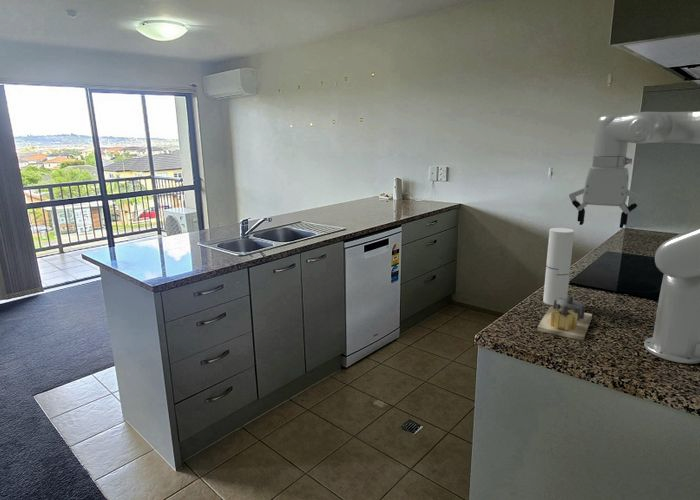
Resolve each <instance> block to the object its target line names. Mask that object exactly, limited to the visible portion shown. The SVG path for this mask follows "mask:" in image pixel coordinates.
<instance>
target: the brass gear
mask: <svg viewBox="0 0 700 500" xmlns="http://www.w3.org/2000/svg"><path fill="white" fill-rule="evenodd" d="M561 310H562V308H560V309H557V310H556V309H553V312H551V322H550V325H551V326H554V327H555V328H556V329H562V330H564V331H568V330H575V329H576V326H577V317H578V314H577V313H574V312H573V311H572V310H568V313H567V315H563V314H561Z"/></svg>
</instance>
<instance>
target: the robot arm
mask: <svg viewBox="0 0 700 500" xmlns="http://www.w3.org/2000/svg"><path fill="white" fill-rule="evenodd" d="M596 122H597V123H596V130H595V139H594V147H593V156H592V157H593V158H592V165H591V167H589V168H588V171H587V175H586V178H585V183H584V187H583V188H582V189H579V190H576V191H574V192H571V193H569V195H568V196H569V199H570V202H571V204H572V206H573V207H575V208H576V210H577V222H579V223H578V224H579V226H583V224H584V223H585V213H586V209H585V208H586V207H587V206H588V205H590V206H605V207H606V206H608V207H619V209H620V210H621V211H622V212H621V214H620V221H619V228H620V229H623V228H624V226H627V223H628V216H629V214H630V212H632V211H633V210H635V209H636V208H637V207H638V206H639V204H640V203H641V202H642V201H643V199H644V197H643V196H641V195H639V194H637V193H635V192H634V191H631V190H630V189H629V168H628V167H626V165H629V164H630V165H632V163H633V158H630V157H627V153H628V145H629V144H628V143H630V144H631V143H634V144H648V143H650V144H651V143H677V144H678V143H679V144H680V143H681V144H696V145H697V144H698V145H700V110H698V111H697V110H696V111H669V112H668V111H641V112H639V111H638V112H634V113H629V114H624V113H623V114H622V113H621V114H617V113H616V114H605V115H602V116H600V117H598V119H597V121H596ZM580 195H582V202H580V201H578V200H577V197H579V196H580ZM628 197H630V198H631V199H634V201H633V202H632V203H631V204H630V205H627V204H626V202H627V199H628ZM654 264H655V266H656V268H657V269H658V271H660V272H661V273H662V274H663V276H662V282H661V285H660V291H659V297H658V301H657V302H658V304H657V309H656V314H655V315H656V316H655V321H654V328H653V334H652V336H651V337H649V338H646V339H645V340H644V342H643V343H644V344H643V347H644V348H645V349H646V350H647V352H649V353H650V354H652V355H653V356H656V357H659V358H661V359H662V360H663V359H664V360H666V361H670V362H673V363H680V364H681V363H682V364H699V363H700V228H698V229H694V230H689V231H685V232H682V233H681V232H680V233H679V234H677V235H675V236H673V237H671V238H669V239H668V240H666V241H664V242H663V243H661V244H660V245H659V247H658V248H657V249H656V251H655V255H654Z"/></svg>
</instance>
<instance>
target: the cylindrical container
mask: <svg viewBox="0 0 700 500" xmlns="http://www.w3.org/2000/svg"><path fill="white" fill-rule="evenodd" d="M548 232H549V233H548V244H547V254H546V265H545V266H546V267H545V275H544V287H543V299H542V302H543V303H544V304H546V305H548V306H551V307H554V300H559V298H563V299H567V296H568V292H569V284H570V283H569V282H570V274H571V264H572V255H573V253H572V252H573V246H574V245H573V244H574V236H575V230H574V229H572V228H567V227H551V228H549V231H548Z"/></svg>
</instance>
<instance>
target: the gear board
mask: <svg viewBox="0 0 700 500" xmlns="http://www.w3.org/2000/svg"><path fill="white" fill-rule="evenodd" d="M560 308H562V310H561V314H563V315H567V313H568V310H572V311H573V312H574V313H577V314H578V317H577V326H576V329H575V330H568V331H564V330H562V329H556V328H555V327H554V326H551V325H550V322H551V312H553V309H556V310H557V309H560ZM585 311H586V305H585V304H584V302H583V301H582V300H580V301H579V300H576V299H574V297H573V295H567V299H563V298H559V300H554V306H549V307H548V309H547V311H546V312H545V314H544V315H543V317H542V319H541V320H540V322H539V323H538V325H537V328H536V331H537V332H541V333H546V334H551V335H556V336H560V337H565V338H569V339H573V340H579V341H581V342H582V341H585V337H586V335H587V332H588V330H589V326H590V324H591V322H592V321H591V320H592V319H593V318H592V317H593V313H587V312H585Z"/></svg>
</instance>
